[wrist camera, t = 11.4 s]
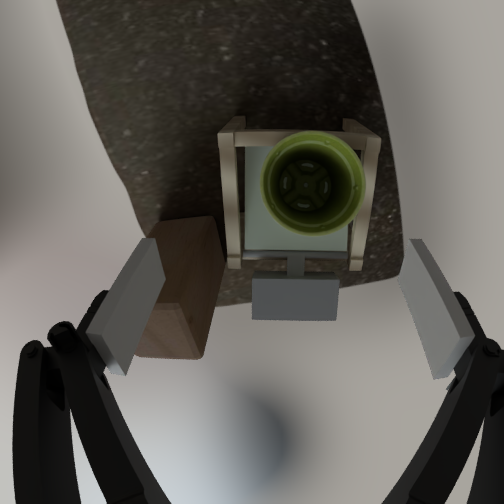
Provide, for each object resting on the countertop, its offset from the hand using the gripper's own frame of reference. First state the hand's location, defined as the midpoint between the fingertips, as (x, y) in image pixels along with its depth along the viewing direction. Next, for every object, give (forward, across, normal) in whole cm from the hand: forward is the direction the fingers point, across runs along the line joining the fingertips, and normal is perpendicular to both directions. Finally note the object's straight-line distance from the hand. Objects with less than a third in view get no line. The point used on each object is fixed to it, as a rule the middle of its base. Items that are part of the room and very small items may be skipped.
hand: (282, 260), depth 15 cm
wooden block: (+28, -14, -17) cm, 36 cm away
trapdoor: (+20, +2, -10) cm, 23 cm away
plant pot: (+20, +3, -4) cm, 21 cm away
